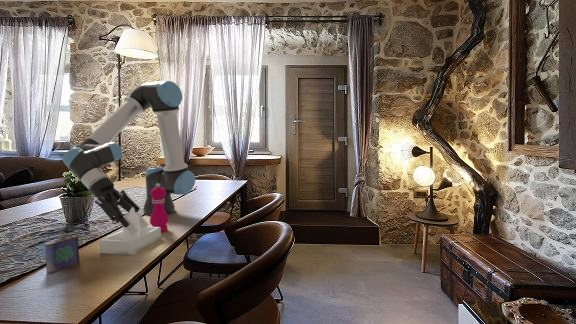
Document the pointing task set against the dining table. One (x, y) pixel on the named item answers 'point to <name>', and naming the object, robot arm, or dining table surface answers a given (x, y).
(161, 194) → the pepper mill
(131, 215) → the white pointed block
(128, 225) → the robot arm
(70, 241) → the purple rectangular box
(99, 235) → the dining table surface
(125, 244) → the tray
